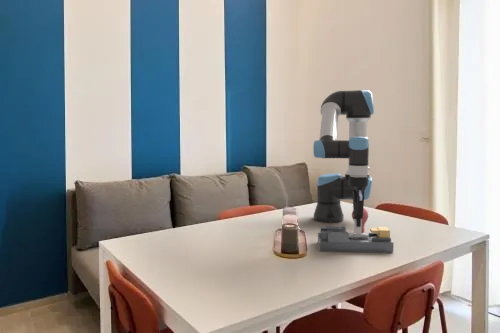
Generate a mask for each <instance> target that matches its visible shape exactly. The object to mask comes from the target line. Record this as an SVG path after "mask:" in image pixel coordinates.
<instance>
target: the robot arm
mask: <svg viewBox="0 0 500 333" xmlns="http://www.w3.org/2000/svg"><path fill="white" fill-rule="evenodd" d="M320 105H321V106H320V110H319V111H320V115H321V122H320V129H319V131H320V132H319V139H317V140H314V142H313V148H312V149H313V156H314V158H318V159H348V167H347V168H348V169H347V170H346V172H345V173H344V176H342V174H341V173H340V172H337V173H336V172H335V173H334V172H333V173H326V174H322V175H319V176H318V177H317V182H316V183H317V184H316V186H317V192H316V193H317V195H316V197H317V198H316V207H315V209H314V213H313V219H314V220H315V221H317V222H320V223H329V224H330V223H340V222H343V221H344V213H343V209H342V206H341V200H347V201H352V207H353V210H352V212H353V214H354V217H353V218H352V220H353V219H354V220H353V226H354V227H353V233H354V234H355V235H362V218H363V208H364V204H365V201H368V200H369V199H370V195H371V193H372V184H373V177H372V176H370V173H369V170H370V167H369V151H370V150H369V148H370V142H369V141H370V140H369V137H368V121H369V120H371V119H372V118H371V116H373V115H374V114H375V109H374V98H373V93H372V92H371V91H370V90H363V89H360V90H337V91H334V92H333V93H331V94H329V95H328V96H326V97H325V99H323V102H322V103H321V104H320ZM340 115H341V116H345V119H346V120H347V121H348V123H349V124H348V127H349V128H348V139H347V140H345V139H344V140H338V126H339V117H340Z"/></svg>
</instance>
